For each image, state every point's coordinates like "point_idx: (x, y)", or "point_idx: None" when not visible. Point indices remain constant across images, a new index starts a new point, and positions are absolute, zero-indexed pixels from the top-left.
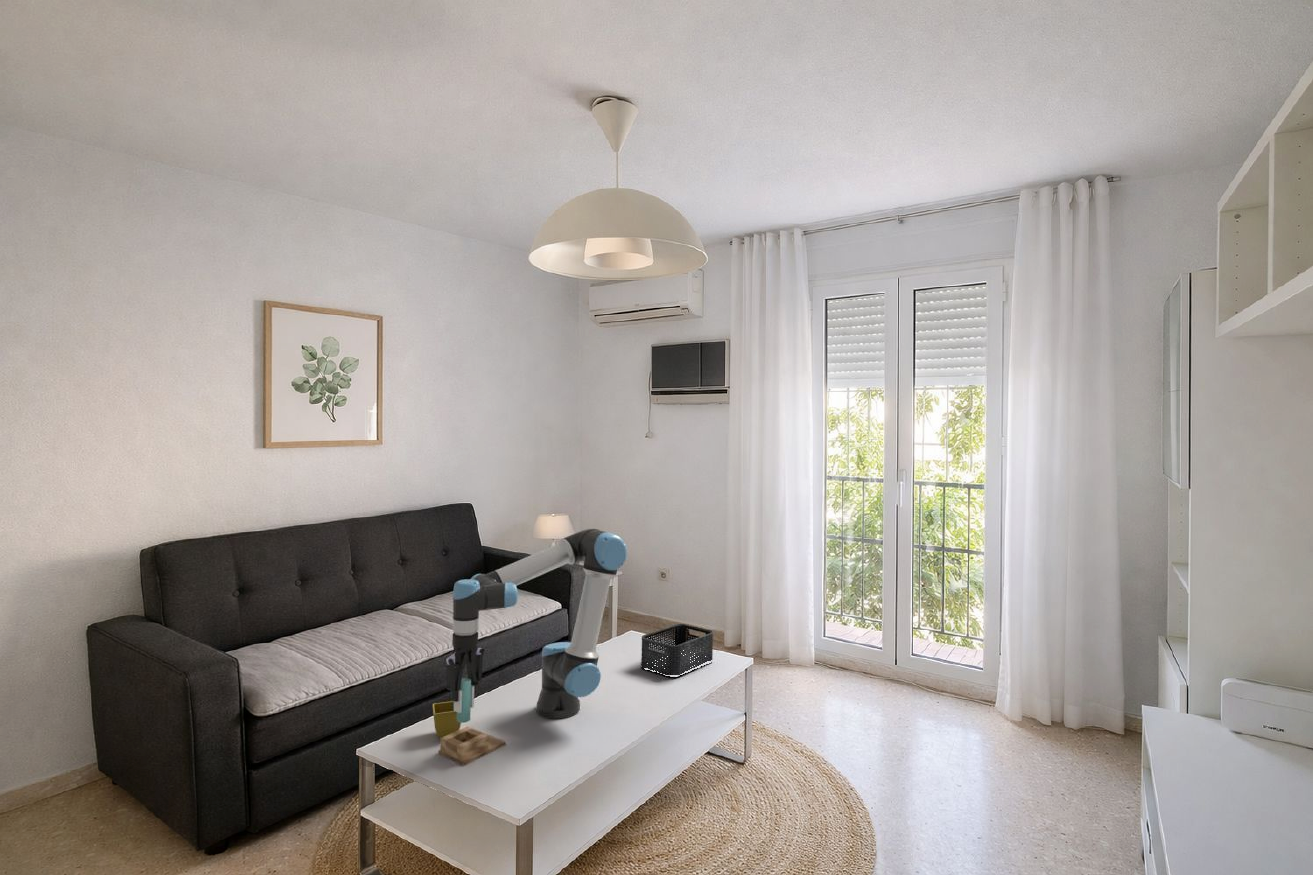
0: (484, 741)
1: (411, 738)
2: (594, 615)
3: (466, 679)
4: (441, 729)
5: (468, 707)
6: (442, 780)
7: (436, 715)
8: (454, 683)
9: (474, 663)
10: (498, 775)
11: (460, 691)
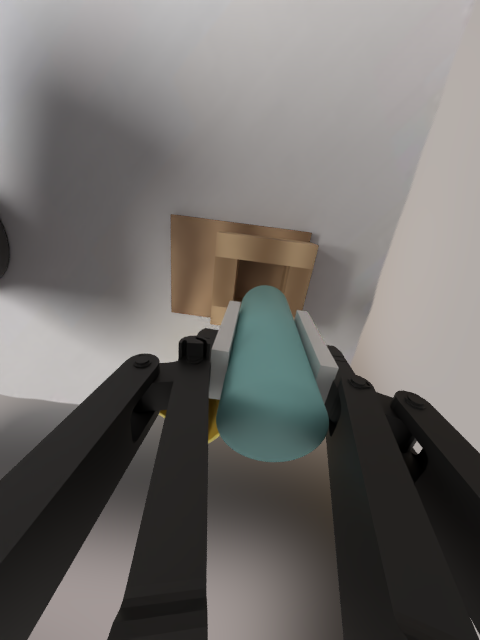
0: (234, 233)
1: None
2: None
3: (243, 423)
4: None
5: (268, 302)
6: (394, 225)
7: None
8: (436, 438)
9: (128, 616)
10: (320, 88)
11: (332, 365)
